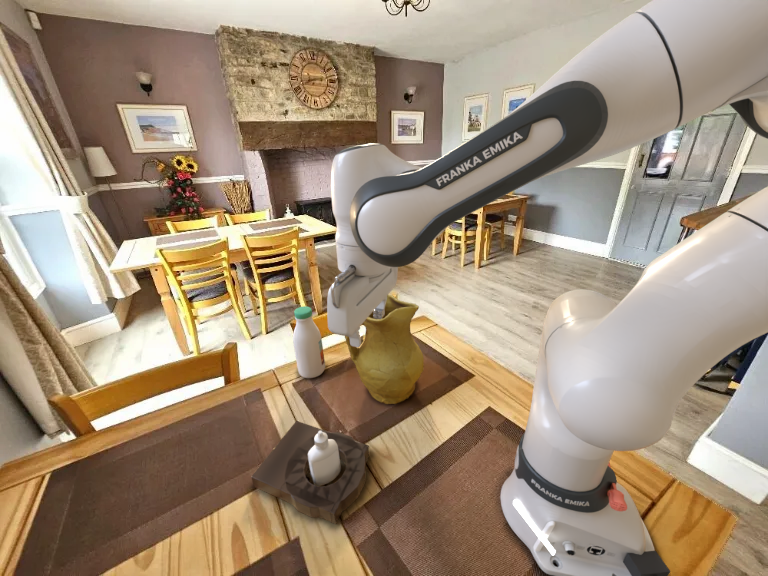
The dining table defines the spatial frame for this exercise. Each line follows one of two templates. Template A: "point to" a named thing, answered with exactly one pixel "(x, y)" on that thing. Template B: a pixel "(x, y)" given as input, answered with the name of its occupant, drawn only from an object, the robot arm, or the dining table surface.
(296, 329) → the milk bottle
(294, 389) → the dining table surface
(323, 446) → the eye dropper bottle
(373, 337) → the pitcher
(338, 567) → the dining table surface
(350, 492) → the grey ring plate
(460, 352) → the dining table surface
